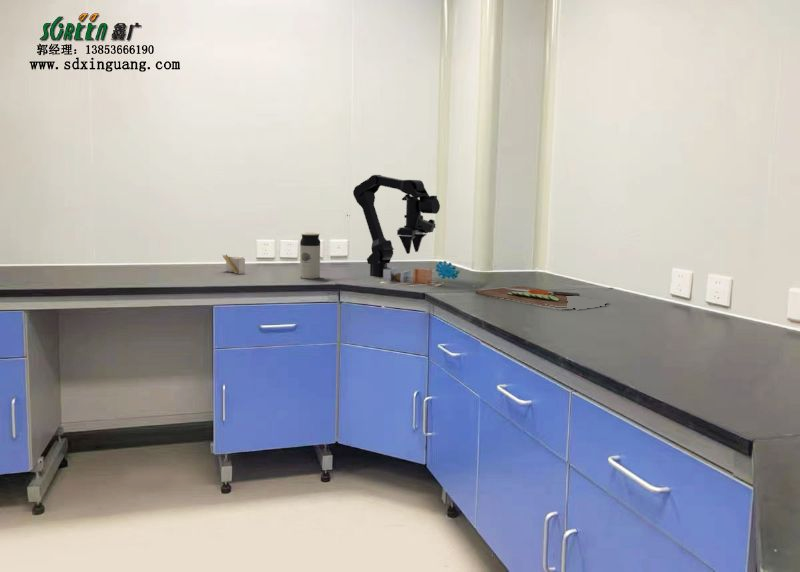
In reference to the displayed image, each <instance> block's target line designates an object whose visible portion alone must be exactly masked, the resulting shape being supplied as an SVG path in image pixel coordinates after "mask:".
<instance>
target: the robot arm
mask: <svg viewBox="0 0 800 572" xmlns="http://www.w3.org/2000/svg"><path fill="white" fill-rule="evenodd" d="M380 186H381V187H386V188H390V189H394V190H399V191H400V192H401V193H404V194H405V195H404V196H403V197H401V200H402V201H406V207H405V209H406V212H405V213H406V214H404V219H405V225H404V226H403V227H399V228H398V229H397V230H396V231H397V232H396V233H397V235H396V236H398V237H399V239H400V241H401V243H402V245H403V247H404V250H405V253H406V254H410V253H411V248H412V245H413V249H414V252H415V253H418V252H419V249H420V246H421V243H422V240H423V238H424V237H425V236H427V234H429V233H433V232H434V230H435V229H436V228H437V227H436V223H435V220H434V219H432V218H430V219H429V220H426V219H424V216H423V215H422V214H431V215H432V214H434V215H435V214H438V213H439V211H440V208H441V204H440V202H439V201H440V200H439V199H438V196H437V195H429V193H428V191H427V190H426V188H425V185H424V182H423V181H422V180H421V179H401V178H400V179H399V178H393V177H390V176H384V175H382V174H373V175H371V176H370V177H369V178H367V179H366V180H363V181H362V182H361V183H360V184H358V185H356V186H355V187H354V188H353V190H352V192H353V197H354V199H355V201H356V203H357V205H359V206H360V207H361V208H362V211H363V214H364V218H365V220H366V221H365V222H366V224H367V225H366V226H367V227H368V231H369V234H370V236H371V240H372V242H371V254H370V255H368V257H367V259H366V261H367V264H368V265H369V271H370V272H369V276H370V277H374V278H383V269H387V268H389V267H388V264H390V262H391V260H392V258H393V256H394V250H395V248H394V247H393V244H392V241H391V240H389V239H386V238H385V235H384V232H383V229H382V226H381V223H380V220H379V217H378V213H377V210H376V207H375V200H376V195H375V194H376V193H377V192H378V191H379V189H380Z"/></svg>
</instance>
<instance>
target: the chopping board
mask: <svg viewBox="0 0 800 572" xmlns="http://www.w3.org/2000/svg"><path fill="white" fill-rule="evenodd" d="M475 295H480V296H483V297H484V296H485V297H489V296H491V297H490V298H494V297H497V298H496V299H499V298H504V299H510V300H515V301H520V302H525V303H531V304H537V305H542V306H550V305H553V306H550V307H555V306H567V303H568V301H567V297H566V296H581V294H580V293H577V292H576V293H575V292H565V291H555V290H554V291H553V290H549V289H542V288H536V287H531V286H525V285H524V286H523V285H522V286H521V285H520V286H519V285H518V286H502V287H501V286H500V287H493V288H482V289H478V290H476V291H475ZM545 304H547V305H545ZM555 308H567V307H555Z"/></svg>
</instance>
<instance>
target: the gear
mask: <svg viewBox="0 0 800 572" xmlns="http://www.w3.org/2000/svg"><path fill="white" fill-rule="evenodd" d="M447 262H448V261H446V260H443V262H442V261H439V262H438V263H436V265H435V272H437V276H438V277H440V278H441V279H446V278H447V279H448V280H450V279H451V280H456V279H457V278H458V277H459V274H460V272H461V270H460V269H458V270H456V269H457V268H456V265H454V266H452V265H453V264H452V263H451V262H448V264H447Z"/></svg>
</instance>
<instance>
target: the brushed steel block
mask: <svg viewBox="0 0 800 572" xmlns="http://www.w3.org/2000/svg"><path fill="white" fill-rule="evenodd" d="M399 271H400V269H399V267H393V266H391V267H388V268H387V269H383V277H382V282H384V283H383V284H385V283H389V282H395V281H396V280H395V278H394V277H395V275H396V274H397V273H400V272H399Z"/></svg>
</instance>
